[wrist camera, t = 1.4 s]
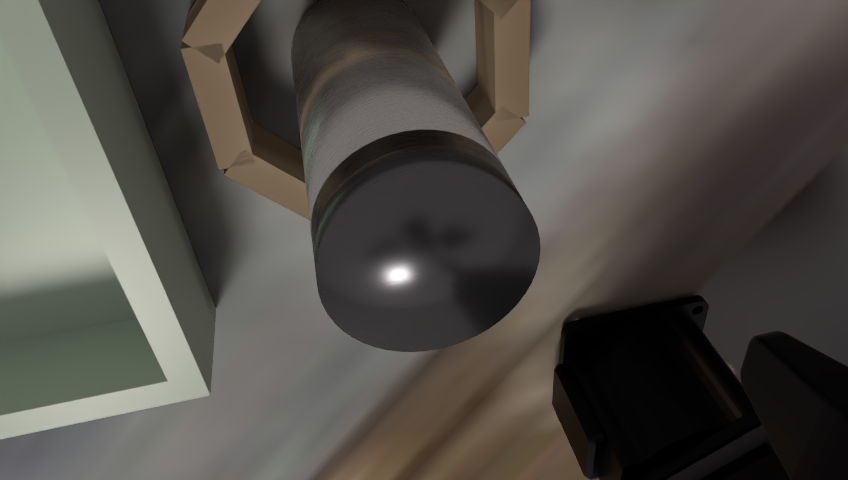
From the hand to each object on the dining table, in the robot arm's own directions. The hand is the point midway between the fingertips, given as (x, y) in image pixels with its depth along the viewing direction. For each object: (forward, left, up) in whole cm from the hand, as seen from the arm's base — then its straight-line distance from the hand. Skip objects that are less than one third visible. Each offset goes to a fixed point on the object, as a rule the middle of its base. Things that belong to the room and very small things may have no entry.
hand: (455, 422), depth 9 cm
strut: (0, 0, -13) cm, 13 cm away
